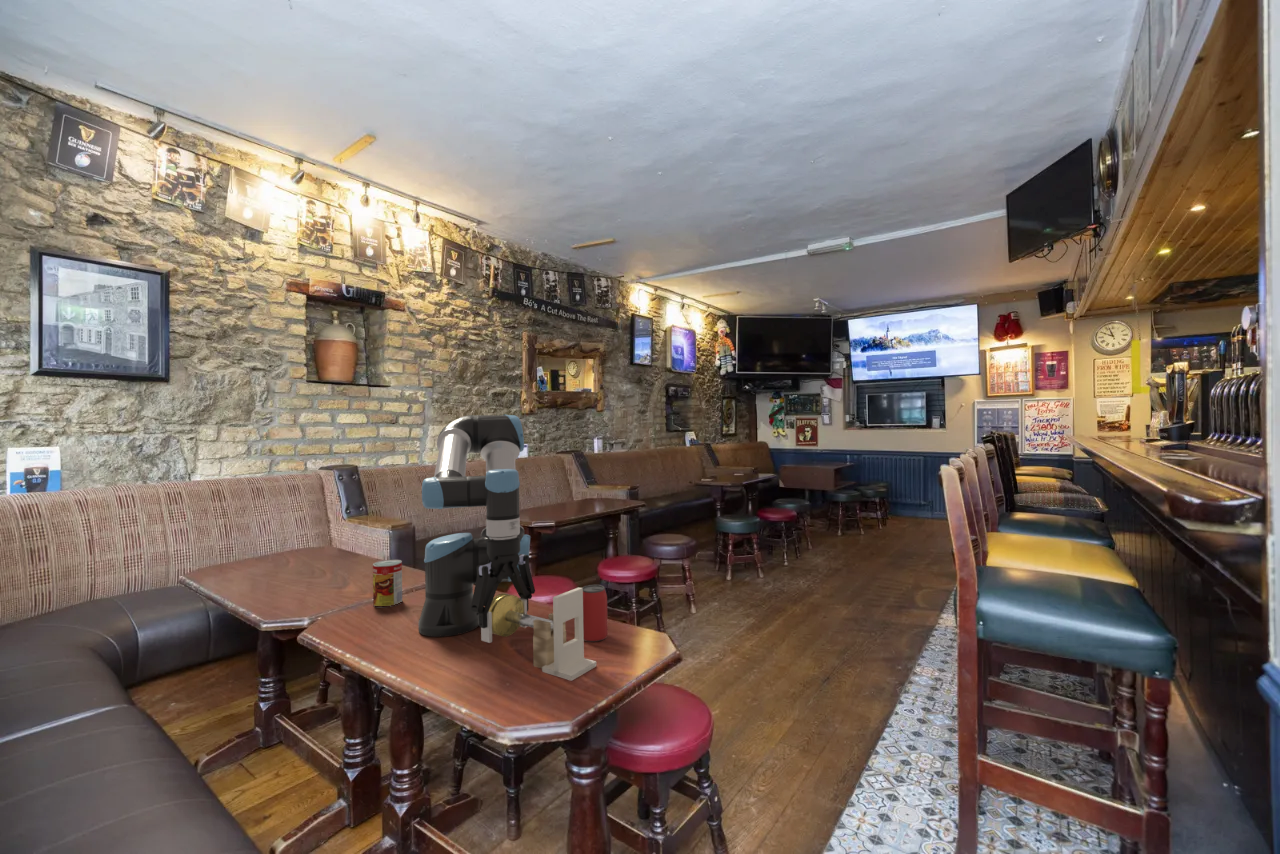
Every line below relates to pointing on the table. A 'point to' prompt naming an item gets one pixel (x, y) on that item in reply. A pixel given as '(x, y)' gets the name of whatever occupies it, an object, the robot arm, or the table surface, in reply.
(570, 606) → the beige slotted stand
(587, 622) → the beer can
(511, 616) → the gold disc on rod
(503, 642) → the table surface
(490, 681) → the table surface
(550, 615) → the cradle
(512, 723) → the table surface
